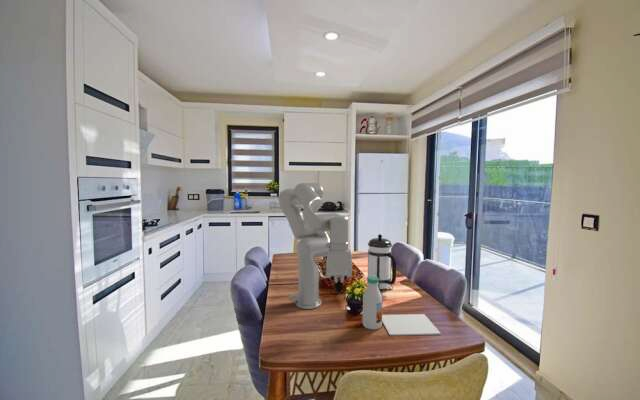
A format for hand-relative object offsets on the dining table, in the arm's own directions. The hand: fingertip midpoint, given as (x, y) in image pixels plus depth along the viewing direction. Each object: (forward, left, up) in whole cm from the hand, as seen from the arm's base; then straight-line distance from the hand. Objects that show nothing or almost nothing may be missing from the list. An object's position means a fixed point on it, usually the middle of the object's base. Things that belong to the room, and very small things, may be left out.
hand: (338, 291), depth 118 cm
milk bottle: (+14, 0, -15) cm, 20 cm away
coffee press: (+28, +40, -15) cm, 51 cm away
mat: (+29, 0, -15) cm, 32 cm away
